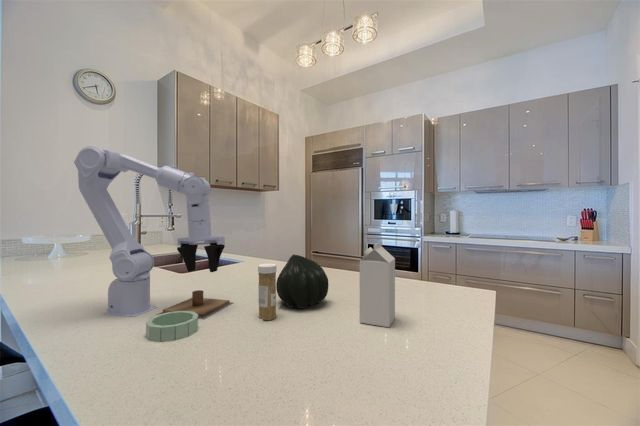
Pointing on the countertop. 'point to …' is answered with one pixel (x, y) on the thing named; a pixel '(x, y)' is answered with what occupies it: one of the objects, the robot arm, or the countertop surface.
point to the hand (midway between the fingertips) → (202, 271)
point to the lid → (198, 305)
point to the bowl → (171, 325)
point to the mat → (211, 313)
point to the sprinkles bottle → (267, 291)
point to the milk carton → (377, 287)
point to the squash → (302, 282)
